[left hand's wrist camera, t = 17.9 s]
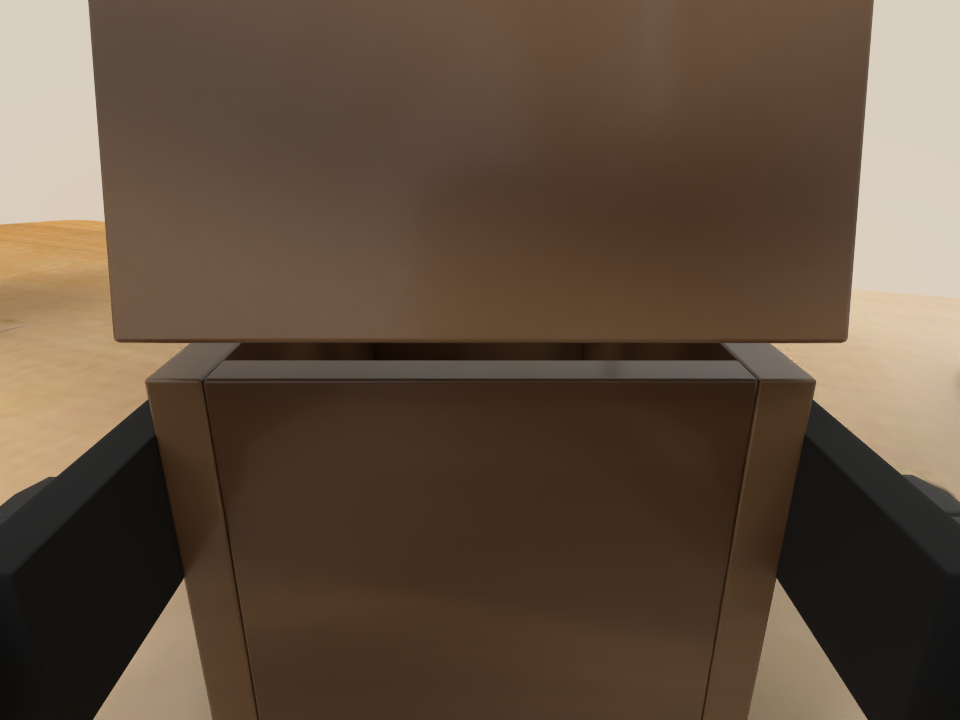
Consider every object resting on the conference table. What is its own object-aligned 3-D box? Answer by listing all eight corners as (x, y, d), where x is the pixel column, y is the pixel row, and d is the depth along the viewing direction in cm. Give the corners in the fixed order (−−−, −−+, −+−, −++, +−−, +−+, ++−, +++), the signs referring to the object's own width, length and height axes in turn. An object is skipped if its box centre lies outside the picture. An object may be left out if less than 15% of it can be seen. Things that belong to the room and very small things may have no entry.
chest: (362, 425, 28) (347, 214, 25) (595, 425, 28) (610, 215, 25) (226, 797, 13) (142, 379, 10) (733, 797, 13) (817, 380, 10)
